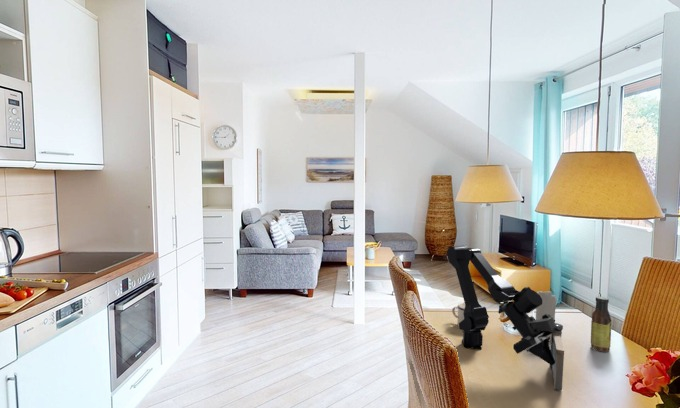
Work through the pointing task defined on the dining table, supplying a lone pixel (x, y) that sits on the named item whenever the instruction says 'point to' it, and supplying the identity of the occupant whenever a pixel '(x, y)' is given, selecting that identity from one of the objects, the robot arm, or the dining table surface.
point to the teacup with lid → (459, 312)
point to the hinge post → (558, 331)
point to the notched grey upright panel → (546, 306)
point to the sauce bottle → (601, 326)
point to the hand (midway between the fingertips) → (553, 364)
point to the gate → (558, 361)
